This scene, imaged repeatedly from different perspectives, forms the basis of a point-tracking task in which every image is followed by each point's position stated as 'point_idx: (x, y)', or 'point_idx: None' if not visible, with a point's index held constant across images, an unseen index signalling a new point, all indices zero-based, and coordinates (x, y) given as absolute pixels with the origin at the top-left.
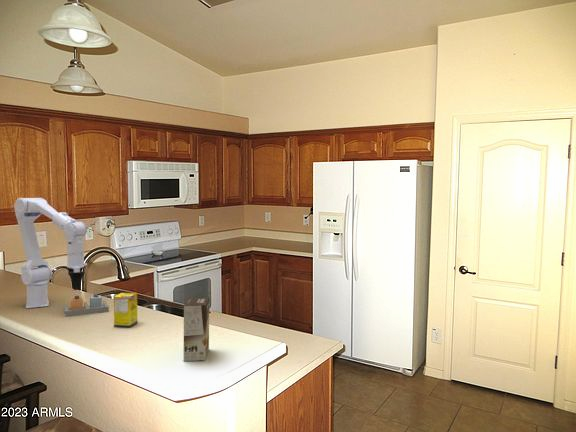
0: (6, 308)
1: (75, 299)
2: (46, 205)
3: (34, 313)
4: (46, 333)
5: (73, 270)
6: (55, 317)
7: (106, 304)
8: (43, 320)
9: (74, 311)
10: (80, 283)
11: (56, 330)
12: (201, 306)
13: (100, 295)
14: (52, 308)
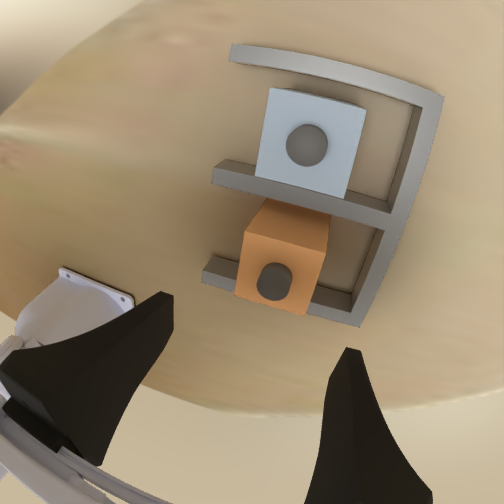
0: None
1: (293, 289)
2: None
3: (217, 360)
4: (491, 392)
5: (92, 435)
6: (338, 337)
7: (379, 79)
8: None
9: (377, 287)
10: (374, 397)
11: (496, 370)
12: None
13: (280, 92)
14: None
